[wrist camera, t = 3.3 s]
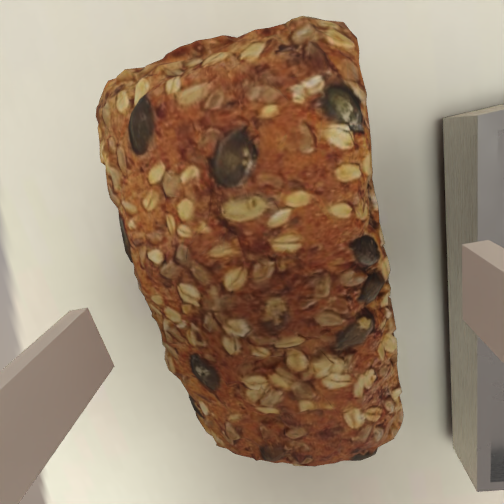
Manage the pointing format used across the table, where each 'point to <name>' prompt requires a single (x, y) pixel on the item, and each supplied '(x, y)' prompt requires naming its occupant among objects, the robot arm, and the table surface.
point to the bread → (261, 237)
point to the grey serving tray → (461, 335)
